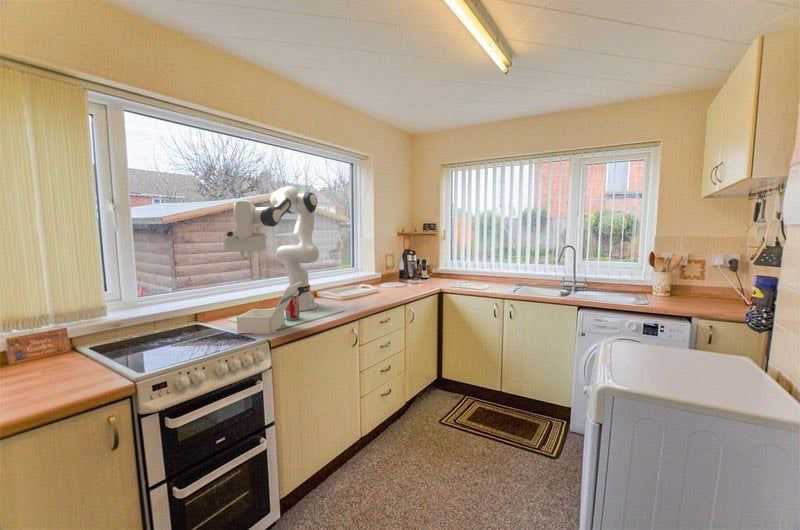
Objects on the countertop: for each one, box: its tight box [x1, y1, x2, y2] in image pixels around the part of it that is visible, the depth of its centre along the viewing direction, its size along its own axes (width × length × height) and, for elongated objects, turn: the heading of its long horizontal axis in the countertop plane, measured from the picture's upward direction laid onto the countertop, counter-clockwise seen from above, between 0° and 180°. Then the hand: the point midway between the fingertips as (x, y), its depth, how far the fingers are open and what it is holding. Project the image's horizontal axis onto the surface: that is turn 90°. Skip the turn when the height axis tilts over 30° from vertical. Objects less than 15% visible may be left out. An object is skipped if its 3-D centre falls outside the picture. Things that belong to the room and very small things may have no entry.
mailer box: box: [236, 308, 285, 335], centre depth 168 cm, size 16×16×8 cm
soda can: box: [284, 294, 300, 321], centre depth 186 cm, size 7×7×13 cm
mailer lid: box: [271, 282, 301, 317], centre depth 166 cm, size 16×16×1 cm
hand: (246, 260), depth 173 cm, fingers closed
